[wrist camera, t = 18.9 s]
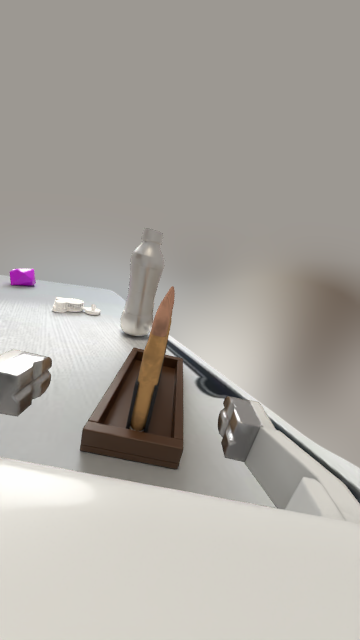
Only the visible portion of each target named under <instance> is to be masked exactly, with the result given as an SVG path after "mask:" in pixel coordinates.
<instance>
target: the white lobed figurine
mask: <svg viewBox="0 0 360 640" xmlns="http://www.w3.org/2000/svg"><path fill="white" fill-rule="evenodd" d="M83 304H84V302H83V301H81V300H78V299H71V298H66V299H64V298H61V297H56V300H55V303H54V305H53V309H52V311H54V312H67V311H71V312H80V311H83V309H85V313H87V314H90V315H99V314H100V311H101V310H100V309H97V308H95V307H96V305H93V304H92V306H91V308H84V306H83Z"/></svg>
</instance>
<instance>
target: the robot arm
mask: <svg viewBox="0 0 360 640" xmlns="http://www.w3.org/2000/svg"><path fill="white" fill-rule="evenodd" d="M51 367H52V360H51V358H50V357H46V356H42V355H38V354H33V353H29V352H25V351H20V350H10V351H7V352H5V353H3V354H1V355H0V414H6V415H12V416H18V415H20V414H21V413H22V412H23V411H24V410H25V409H26V408H27V407H29V406H30V405H31V403H32V399H35V398H37V397H40V396H41V395H42V394H43V393H44V392H45V391H46V389H47V388H48V386H49V384H50V381H51V374H50V373H49V371H48V369H49V368H51ZM223 404H224V407H225V408H224V409H223V410H221V411H220V414H219V418H218V430H219V434H220V435H221V436H222V437H223V439H222V442H221V443H222V447H223V452H224V456H225V458H229V459H234V460H238V461H242V462H245V464H246V466H247V467H248V469H249V470H250V471H251V473H252V474H253V476H254V477H255V478H256V480H257V481H258V482H259V484H260V485H261V487H262V488H263V489H264V491H265V492H266V494H267V495H268V496H269V498H270V499H271V500H272V502H273V503H274V505H275V506H276V507H277V508H273V507H267V506H262V505H256V504H251V503H246V502H240V501H235V500H229V499H224V498H219V497H213V496H208V495H203V494H197V493H192V492H186V491H181V490H176V489H170V488H165V487H160V486H154V485H149V484H144V483H138V482H133V481H127V480H122V479H117V478H111V477H106V476H100V475H95V474H90V473H84V472H79V471H73V470H68V469H63V468H57V467H52V466H46V465H41V464H36V463H30V462H25V461H20V460H14V459H9V458H3V457H0V640H360V504H359V502H358V501H357V500H356V499H355V497H354V496H353V495H352V493H351V492H350V491H349V489H348V488H347V487H346V485H345V484H344V483H343V482H341V481H340V480H339V479H338V478H336V477H335V476H334V475H333V474H332V473H330V472H329V471H328V470H327V469H325V468H324V467H323V466H322V465H321V464H319V463H318V462H317V461H316V460H314V459H313V458H312V457H311V456H310V455H308V454H307V453H306V452H305V451H303V450H302V449H301V448H300V447H299V446H297V445H296V444H295V443H294V442H292V441H291V440H290V439H289V438H288V437H286V436H285V435H284V434H283V433H281V432H280V431H277V430H276V429H275V427H274V426H273V424H272V422H271V421H270V419H269V417H268V416H267V414H266V412H265V411H264V409H263V407H262V406H261V404H260V403H259V402H256V401H250V400H244V399H239V398H234V397H229V396H227V397H226V398H225V400H224V403H223Z"/></svg>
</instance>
